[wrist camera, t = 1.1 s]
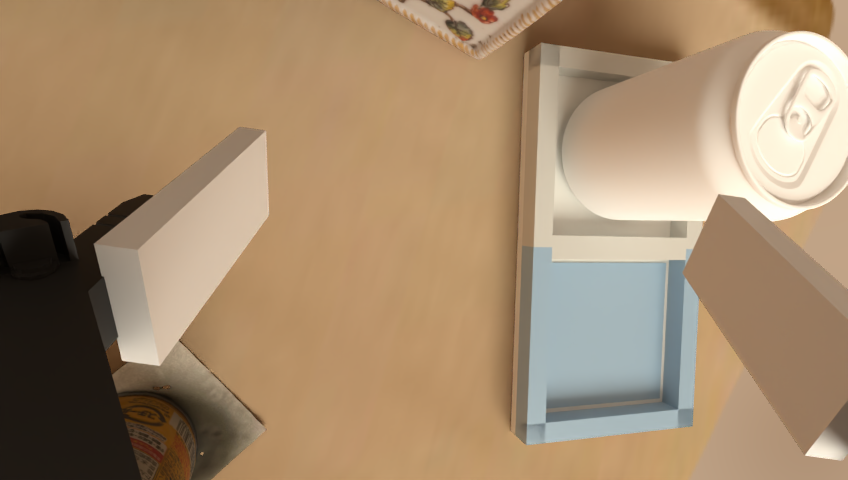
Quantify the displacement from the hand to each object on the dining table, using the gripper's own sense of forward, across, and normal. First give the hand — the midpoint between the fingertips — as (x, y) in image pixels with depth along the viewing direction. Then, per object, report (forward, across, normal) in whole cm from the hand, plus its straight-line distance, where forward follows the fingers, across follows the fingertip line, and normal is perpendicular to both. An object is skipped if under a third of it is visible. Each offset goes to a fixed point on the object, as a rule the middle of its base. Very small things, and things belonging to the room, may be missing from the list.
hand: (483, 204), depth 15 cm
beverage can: (+18, +9, -4) cm, 20 cm away
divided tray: (+15, +10, -9) cm, 20 cm away
